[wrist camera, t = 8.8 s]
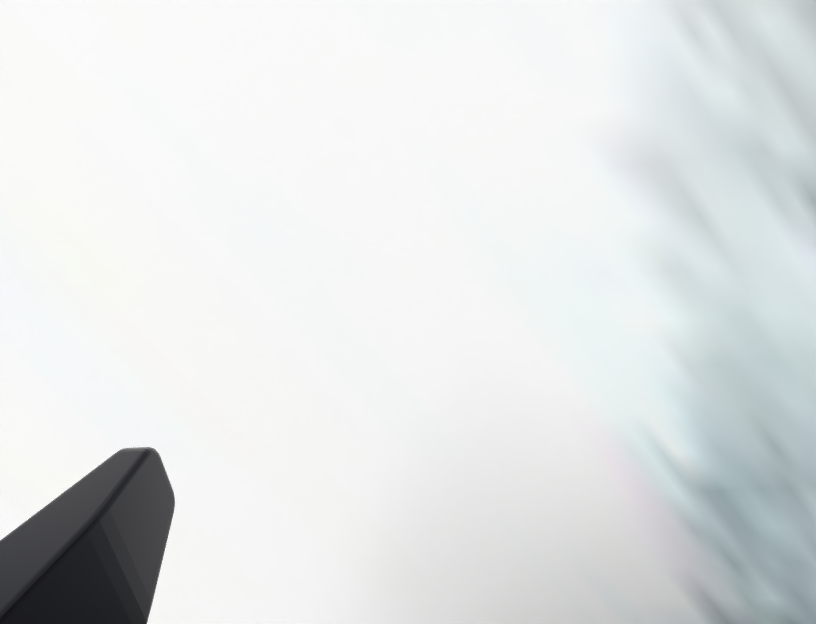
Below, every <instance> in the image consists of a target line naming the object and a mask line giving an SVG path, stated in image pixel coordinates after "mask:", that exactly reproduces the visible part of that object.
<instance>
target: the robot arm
mask: <svg viewBox="0 0 816 624" xmlns="http://www.w3.org/2000/svg"><path fill="white" fill-rule="evenodd" d="M174 506H175V498H174V493H173V489H172V487H171V484H170V481H169V479H168V476H167V473H166V471H165V468H164V466H163V463H162V460H161V458H160V455H159V453H158V452H157V451H156V450H155V449H154V448H150V447H139V448H125V449H122V450H120V451H118V452H117V453H115V454H114V455H113V456H111V457H110V458H109V459H107V460H106V461H105V462H103V463H102V464H101V465H99V466H98V467H97V468H95V469H94V470H93V471H91V472H90V473H89V474H88V475H86V476H85V477H84V478H82V479H81V480H80V481H78V482H77V483H76V484H74V485H73V486H72V487H70V488H69V489H68V490H66V491H65V492H64V493H62V494H61V495H60V496H58V497H57V498H56V499H55V500H53V501H52V502H51V503H49V504H48V505H47V506H45V507H44V508H43V509H41V510H40V511H39V512H37V513H36V514H35V515H33V516H32V517H31V518H29V519H28V520H27V521H26V522H24V523H23V524H22V525H20V526H19V527H18V528H16V529H15V530H14V531H12V532H11V533H10V534H8V535H7V536H6V537H4V538H3V539H2V540H0V624H147V621H148V617H149V613H150V610H151V606H152V602H153V598H154V593H155V589H156V585H157V581H158V576H159V572H160V568H161V564H162V560H163V555H164V551H165V547H166V543H167V538H168V534H169V530H170V526H171V521H172V517H173V513H174Z"/></svg>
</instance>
